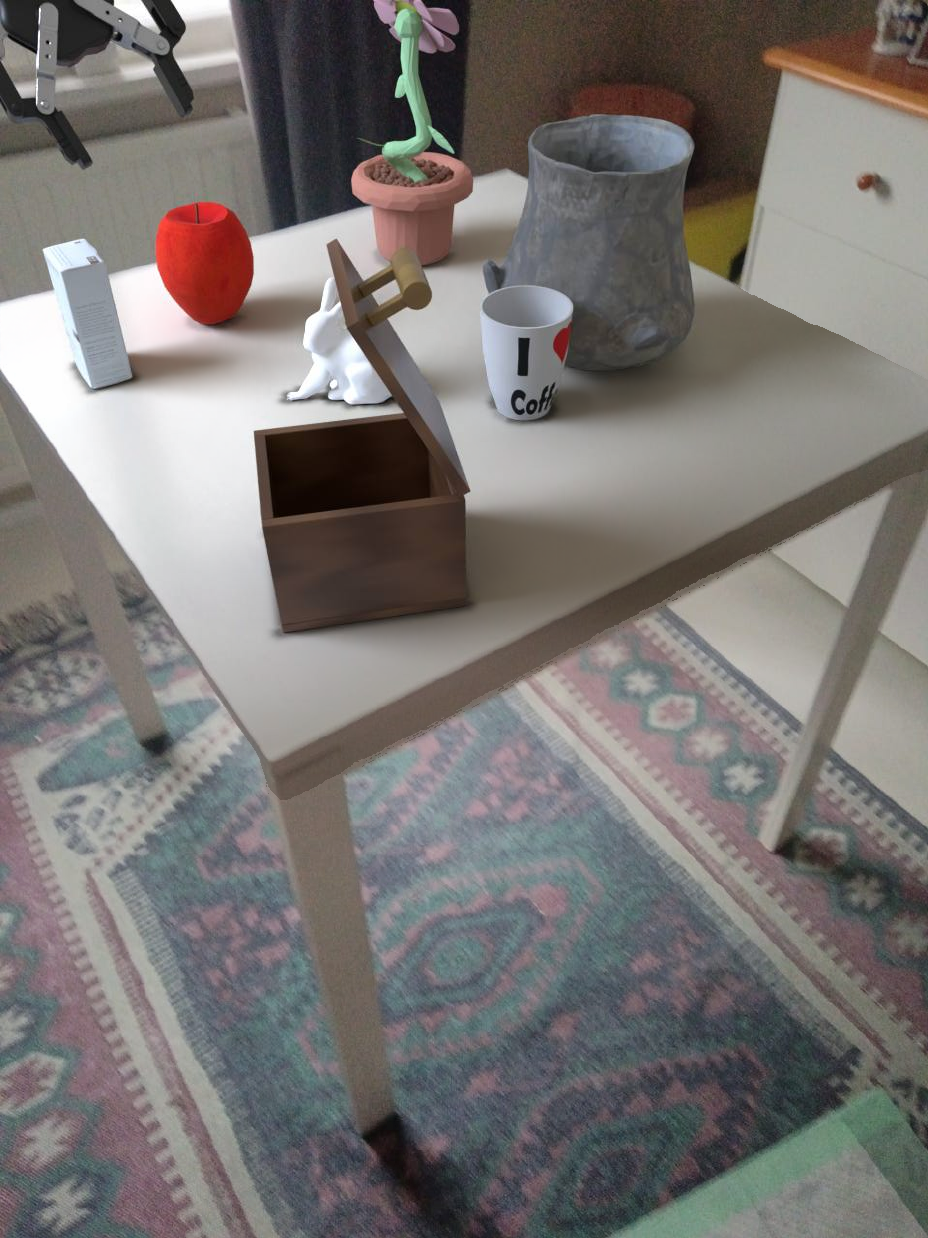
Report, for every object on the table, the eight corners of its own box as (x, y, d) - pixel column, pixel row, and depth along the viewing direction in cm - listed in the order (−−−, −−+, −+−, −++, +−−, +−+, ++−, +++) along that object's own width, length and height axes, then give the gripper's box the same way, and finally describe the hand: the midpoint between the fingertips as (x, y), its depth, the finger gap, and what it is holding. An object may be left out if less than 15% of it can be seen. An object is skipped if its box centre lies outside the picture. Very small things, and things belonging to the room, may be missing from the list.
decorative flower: (504, 252, 116) (510, -48, 96) (425, 293, 109) (412, -23, 88) (413, 220, 124) (400, -67, 103) (333, 256, 116) (301, -45, 95)
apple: (231, 348, 101) (208, 230, 92) (150, 331, 103) (121, 215, 95) (279, 305, 107) (262, 192, 99) (202, 291, 110) (179, 179, 102)
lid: (346, 327, 56) (422, 282, 55) (325, 244, 64) (391, 203, 63) (460, 497, 66) (526, 461, 65) (430, 405, 74) (488, 372, 73)
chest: (282, 633, 71) (261, 526, 64) (272, 533, 79) (253, 430, 72) (467, 605, 73) (465, 499, 66) (438, 511, 81) (435, 408, 74)
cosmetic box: (74, 365, 99) (36, 246, 90) (118, 352, 100) (84, 235, 92) (93, 392, 95) (55, 271, 86) (138, 378, 96) (105, 259, 88)
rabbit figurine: (284, 400, 93) (269, 305, 87) (308, 361, 99) (295, 268, 92) (406, 412, 92) (401, 315, 85) (424, 371, 97) (420, 277, 90)
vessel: (538, 423, 90) (549, 203, 76) (461, 316, 105) (458, 116, 91) (747, 381, 95) (792, 167, 81) (644, 285, 110) (668, 90, 96)
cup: (506, 438, 88) (508, 336, 81) (465, 396, 94) (463, 297, 87) (582, 415, 91) (591, 314, 84) (538, 375, 96) (542, 277, 89)
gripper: (-106, -79, 61) (56, 176, 68) (94, -168, 64) (230, 84, 71) (-96, -36, 68) (51, 192, 74) (85, -119, 71) (210, 107, 78)
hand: (138, 139), depth 73 cm, fingers open, 8 cm apart
